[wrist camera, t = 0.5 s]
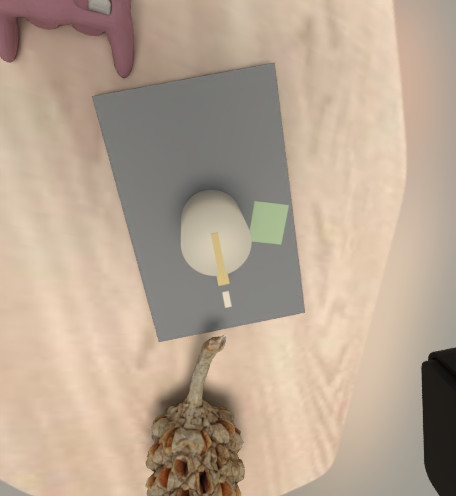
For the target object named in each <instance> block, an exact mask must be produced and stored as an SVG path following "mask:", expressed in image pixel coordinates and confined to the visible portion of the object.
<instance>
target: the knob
mask: <svg viewBox="0 0 456 496" xmlns="http://www.w3.org/2000/svg"><path fill="white" fill-rule="evenodd" d="M251 244H252V240H251V234H250V231H249V228H248V226H247V224H246V222H245V219H244V217H243V215H242V213H241V211H240V209H239V206H238V205H237V203H236V201H235V200H234V199H233V198H232V197H231V196H230V195H228V194H226V193H225V192H222V191H219V190H204V191H201V192H198V193H196V194H195V195H193V196H192V197H191V198H190V199H189V200H188V201H187V202H186V204H185V205H184V208H183V210H182V214H181V251H182V254H183V256H184V259H185V260H186V262H187V263H188V264H189V265H190V266H191V267H192V268H193V269H194V270H196V271H197V272H199V273H202V274H204V275H209V276H217V281H218V286H221V285H226V284H230V283H229V277H228V274H229V273H231V272H233V271H235V270H236V269H238V268H239V267H240V266H241V265H242V264H243V263H244V262H245V261H246V259H247V258H248V255H249V253H250V250H251Z"/></svg>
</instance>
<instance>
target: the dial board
mask: <svg viewBox="0 0 456 496" xmlns="http://www.w3.org/2000/svg"><path fill="white" fill-rule="evenodd" d="M92 98H93V101H94V105H95V109H96V112H97V116H98V120H99V123H100V127H101V131H102V134H103V138H104V142H105V145H106V149H107V153H108V156H109V160H110V164H111V168H112V171H113V175H114V179H115V182H116V186H117V190H118V193H119V197H120V201H121V204H122V208H123V212H124V215H125V219H126V223H127V226H128V230H129V234H130V237H131V241H132V245H133V248H134V252H135V256H136V260H137V263H138V267H139V271H140V274H141V278H142V282H143V285H144V289H145V293H146V296H147V300H148V304H149V307H150V311H151V315H152V318H153V322H154V326H155V329H156V333H157V337H158V340H159V342H162V341H167V340H172V339H177V338H182V337H187V336H192V335H197V334H201V333H206V332H211V331H216V330H221V329H226V328H231V327H236V326H241V325H246V324H251V323H256V322H261V321H266V320H271V319H275V318H280V317H285V316H290V315H295V314H300V313H305V308H304V300H303V292H302V284H301V275H300V267H299V259H298V251H297V243H296V235H295V226H294V218H293V210H292V202H291V194H290V186H289V177H288V169H287V161H286V153H285V145H284V137H283V128H282V120H281V112H280V104H279V96H278V88H277V79H276V71H275V63H270V64H265V65H259V66H254V67H248V68H243V69H238V70H232V71H227V72H221V73H216V74H211V75H205V76H200V77H194V78H189V79H184V80H178V81H173V82H167V83H162V84H156V85H151V86H146V87H140V88H135V89H129V90H124V91H119V92H113V93H108V94H102V95H97V96H92ZM204 190H219V191H222V192H225V193H226V194H228V195H230V196H231V197H232V198H233V199H234V200H235V201H236V203H237V205H238V206H239V209H240V211H241V213H242V215H243V217H244V219H245V222H246V224H247V226H248V228H249V231H250V234H251V240H252V244H251V250H250V253H249V255H248V258H247V259H246V261H245V262H244V263H243V264H242V265H241V266H240V267H239V268H238V269H236V270H235V271H233V272H231V273H229V274H228V277H229V283H230V284H226V285H221V286H218V281H217V276H209V275H204V274H202V273H199V272H197V271H196V270H194V269H193V268H192V267H191V266H190V265H189V264H188V263H187V262H186V260H185V259H184V256H183V254H182V251H181V214H182V210H183V208H184V205H185V204H186V202H187V201H188V200H189V199H190V198H191V197H192V196H193V195H195V194H196V193H198V192H201V191H204Z"/></svg>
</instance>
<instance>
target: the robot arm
mask: <svg viewBox="0 0 456 496" xmlns="http://www.w3.org/2000/svg"><path fill="white" fill-rule="evenodd" d="M421 369H422V401H423V434H424V464H425V469H426V472H427V475H428V477H429V480H430V481H431V483H432V485H433V486H434V488H435V490H436V491H437V493H438V494H439V496H456V348H451V349H446V350H441V351H436V352H432V353H430V354H429V357H428V361H425V362H423V363H422V368H421Z"/></svg>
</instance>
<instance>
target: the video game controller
mask: <svg viewBox="0 0 456 496" xmlns="http://www.w3.org/2000/svg"><path fill="white" fill-rule="evenodd" d="M130 7H131V0H0V57H1V58H2V59H3V60H4V61H6V62H12V61H13V60H14V59H15V56H16V52H17V48H18V23H17V17H25V18H26V19H27V20H28V21H29V22H31V23H32V24H34V25H35V26H37V27H40V28H44V29H55V28H57V27H58V25H70V24H72V25H73V27H74V28H75V29H76V30H78V31H80V32H82V33H84V34H87V35H93V36H97V35H101V34H102V33H103V31H104V32H105V33H106V34H107V36H108V38H109V41H110V45H111V48H112V54H113V60H114V65H115V68H116V70H117V72H118V74H119V75H120V76H121V77H123V78H125V77H127V76H128V75H129V73H130V72H131V69H132V65H133V59H134V34H133V27H132V19H131V12H130Z"/></svg>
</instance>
